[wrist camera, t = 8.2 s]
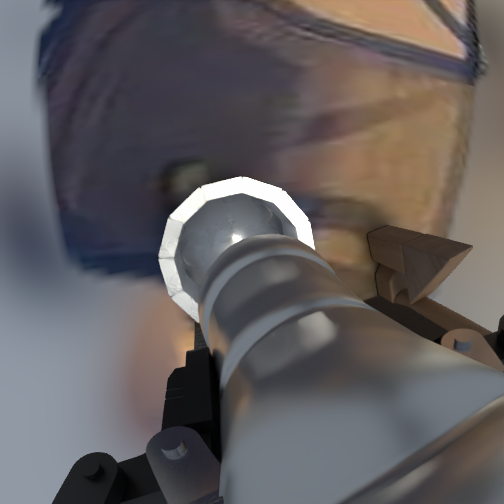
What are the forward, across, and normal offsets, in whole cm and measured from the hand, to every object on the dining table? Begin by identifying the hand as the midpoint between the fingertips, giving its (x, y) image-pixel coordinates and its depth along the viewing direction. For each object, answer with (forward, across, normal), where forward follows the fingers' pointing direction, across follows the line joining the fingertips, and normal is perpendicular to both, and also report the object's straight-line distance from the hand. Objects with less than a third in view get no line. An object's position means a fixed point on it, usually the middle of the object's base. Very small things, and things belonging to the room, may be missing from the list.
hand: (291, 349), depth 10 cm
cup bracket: (+22, 0, +2) cm, 22 cm away
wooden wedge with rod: (+23, -18, +8) cm, 30 cm away
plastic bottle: (+7, 0, 0) cm, 7 cm away
